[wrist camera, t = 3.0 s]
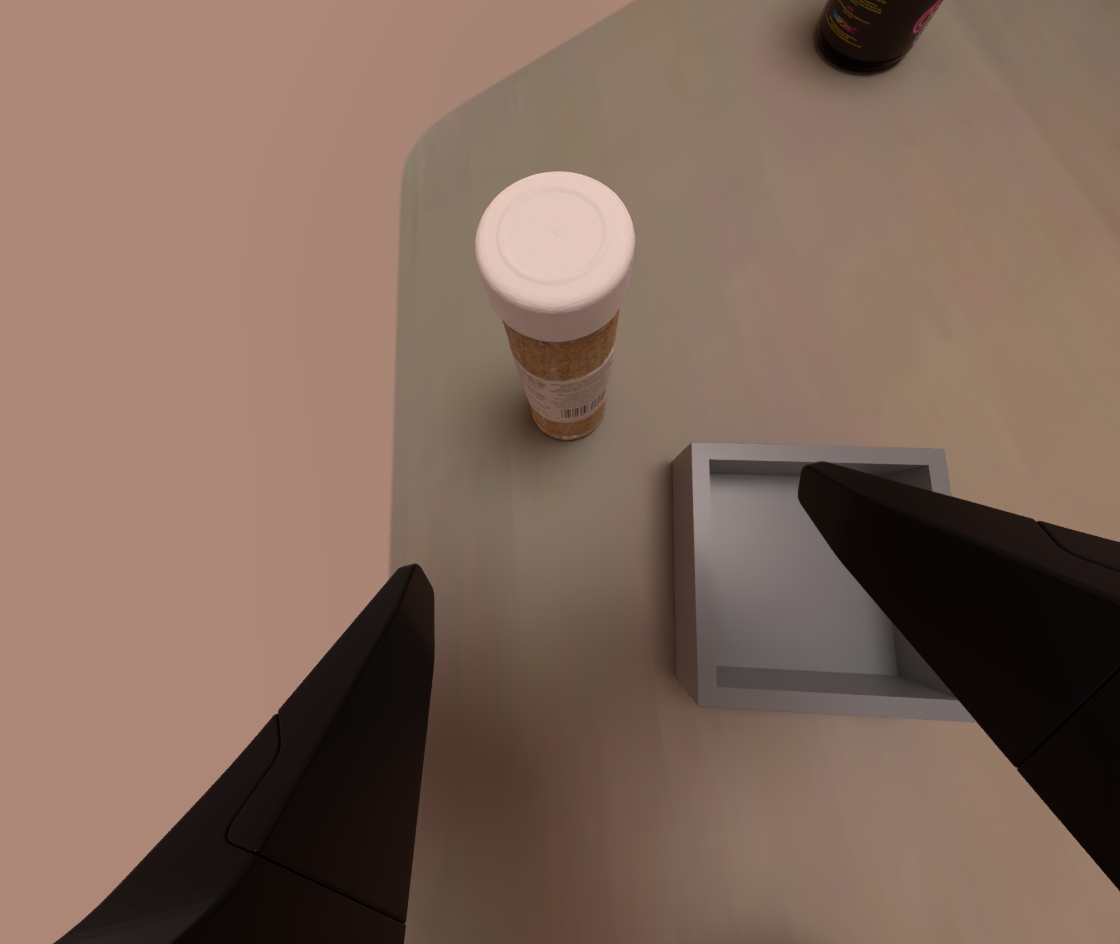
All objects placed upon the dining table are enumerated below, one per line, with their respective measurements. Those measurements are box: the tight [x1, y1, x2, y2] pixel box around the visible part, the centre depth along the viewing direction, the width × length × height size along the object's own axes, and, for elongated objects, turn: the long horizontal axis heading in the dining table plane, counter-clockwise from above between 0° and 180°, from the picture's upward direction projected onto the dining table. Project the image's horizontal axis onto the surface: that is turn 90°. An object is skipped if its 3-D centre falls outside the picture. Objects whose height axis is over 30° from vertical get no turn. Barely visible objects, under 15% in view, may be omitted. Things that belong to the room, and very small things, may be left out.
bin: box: [672, 443, 977, 723], centre depth 20 cm, size 12×12×4 cm
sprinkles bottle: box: [475, 171, 635, 440], centre depth 17 cm, size 5×5×14 cm
